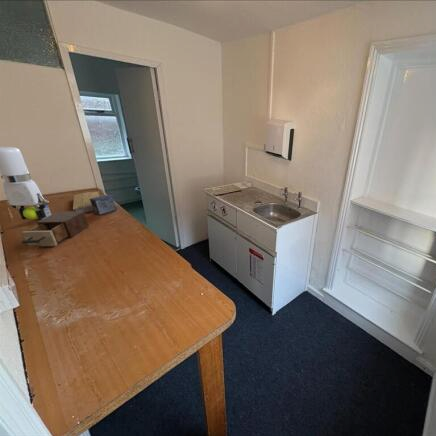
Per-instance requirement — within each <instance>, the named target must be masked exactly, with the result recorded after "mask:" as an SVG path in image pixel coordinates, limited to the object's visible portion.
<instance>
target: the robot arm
mask: <svg viewBox="0 0 436 436" xmlns="http://www.w3.org/2000/svg"><path fill="white" fill-rule="evenodd" d="M0 175H1V176H0V178H1V179H2V180H3V181H4V182H3V183H2V186H3V191H4V195H5V197H6V204H7V205H9V206H10V207H12V208H14V209H15V211H17V212H18V213H19V215H20V218H21V219H22V220H27V218H26V217H24V215H23V211H24V210H25V209H26V207H34V208H35V209H36V210H37V211H36V214H37V216H38V220H42V219H43V218H45V217H46V214H45V212H44V208H45V207H46V205H47V206H48V204H50V202H49V200H47V199H46V198H44V197H43V195H42V191H40V188H39V186H38V184H37V183H36V182H35V180H33V179H32V177H31V174H30V172H29V169H28V166H27V164H26V161H25V159H24V156H23V154H22V152H21V150H20V149H19V148H18V147H15V146H0ZM38 205H39V207H38Z"/></svg>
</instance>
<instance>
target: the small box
mask: <svg viewBox="0 0 436 436" xmlns="http://www.w3.org/2000/svg"><path fill="white" fill-rule="evenodd" d="M90 201H91V204H92V207H93V210H94V211H93V213H94V214H95V215H98V216H102V215H106V214H109V213H112V211H113V212H115V211H117V207H116V204H115V201H114V197H113V195H110V194H104V195H99V197H94V198H91V199H90Z"/></svg>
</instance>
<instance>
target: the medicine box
mask: <svg viewBox="0 0 436 436" xmlns="http://www.w3.org/2000/svg"><path fill="white" fill-rule="evenodd" d="M38 207H39V205H38ZM44 212H45V214H46V217H48V216H50V215H52V213H51V210H50V208H49V206H48V204H47V205H46V207H45V208H44ZM46 217H45V218H46ZM43 219H44V218H43Z"/></svg>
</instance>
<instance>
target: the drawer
mask: <svg viewBox="0 0 436 436" xmlns="http://www.w3.org/2000/svg"><path fill="white" fill-rule="evenodd" d="M21 234H22V236H23V238H24V240H22V241H21V243H22V244H26V245H27V246H29V247H30V246H38V247H56V246H58V245H59V244H58V243H60V242H61V241H63V240H65V239H67V238H66V237H67V236H69V234H68V232H67V229H66V226H65V224H64V223H42V224H40V225H38V224H37V225H36V226H34V227H32V228H30V229H27V230H23V231H21Z"/></svg>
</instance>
